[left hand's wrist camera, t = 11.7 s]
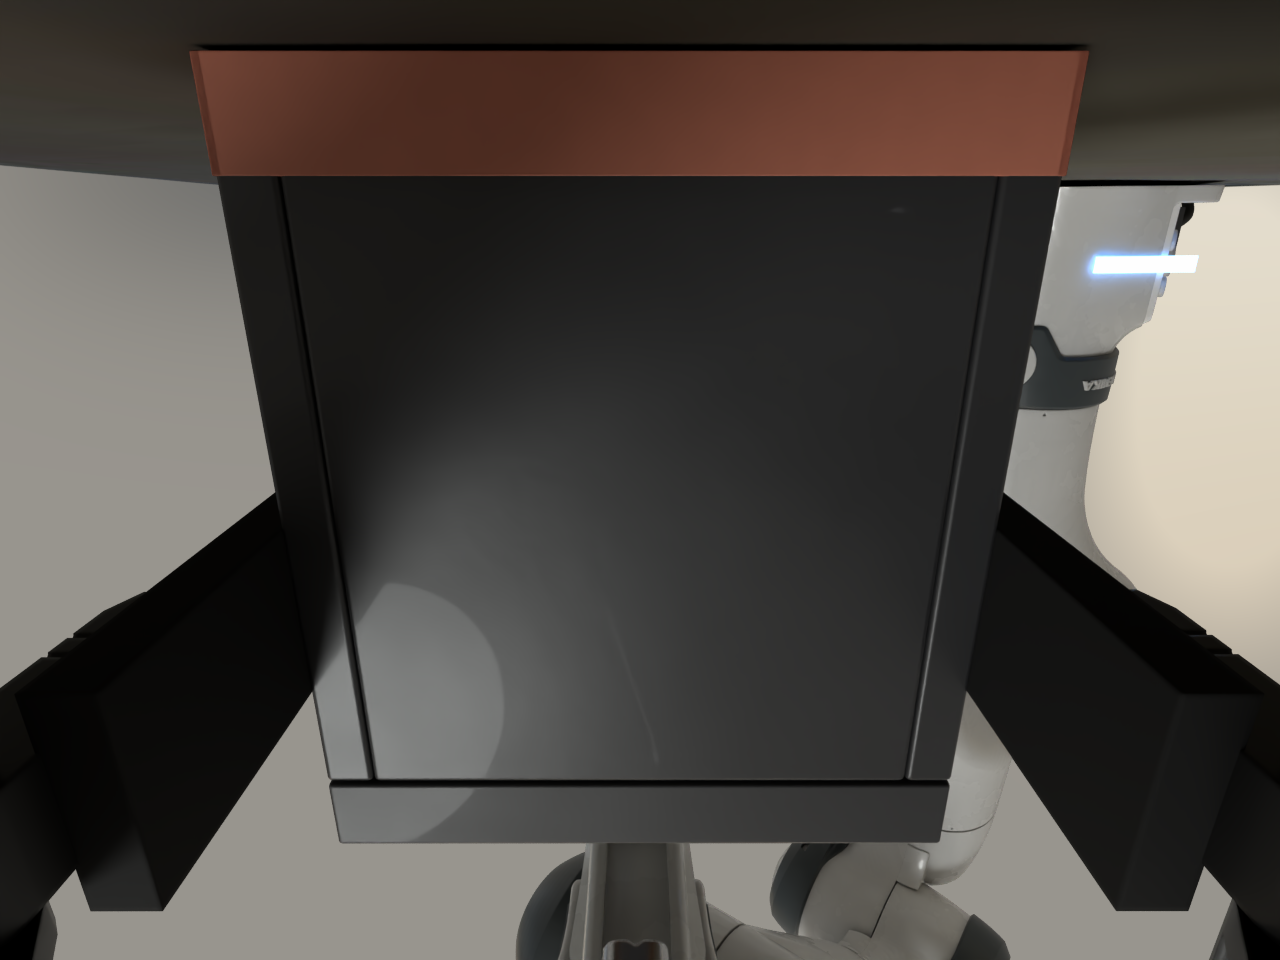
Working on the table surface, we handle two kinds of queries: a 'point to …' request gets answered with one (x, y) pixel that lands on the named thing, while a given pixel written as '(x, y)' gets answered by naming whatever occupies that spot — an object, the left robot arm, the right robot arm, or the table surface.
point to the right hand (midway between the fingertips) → (636, 819)
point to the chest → (639, 393)
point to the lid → (639, 811)
